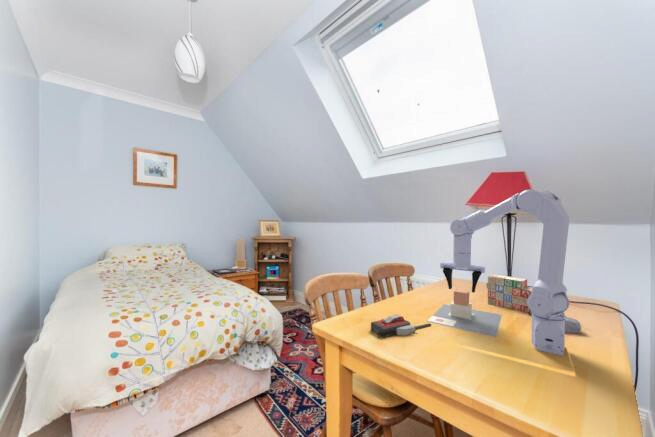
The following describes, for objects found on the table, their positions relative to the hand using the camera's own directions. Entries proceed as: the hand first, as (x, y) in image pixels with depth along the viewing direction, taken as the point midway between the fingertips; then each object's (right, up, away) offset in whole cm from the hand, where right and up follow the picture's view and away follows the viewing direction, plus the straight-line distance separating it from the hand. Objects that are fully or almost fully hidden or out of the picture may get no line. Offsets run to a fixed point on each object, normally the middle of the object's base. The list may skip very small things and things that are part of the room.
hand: (461, 290), depth 101 cm
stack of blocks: (+27, -10, +9) cm, 30 cm away
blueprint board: (0, -10, -4) cm, 10 cm away
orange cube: (0, -5, 0) cm, 5 cm away
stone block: (+28, -11, -7) cm, 30 cm away
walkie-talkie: (-26, -10, -12) cm, 30 cm away
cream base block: (0, -9, 0) cm, 9 cm away
